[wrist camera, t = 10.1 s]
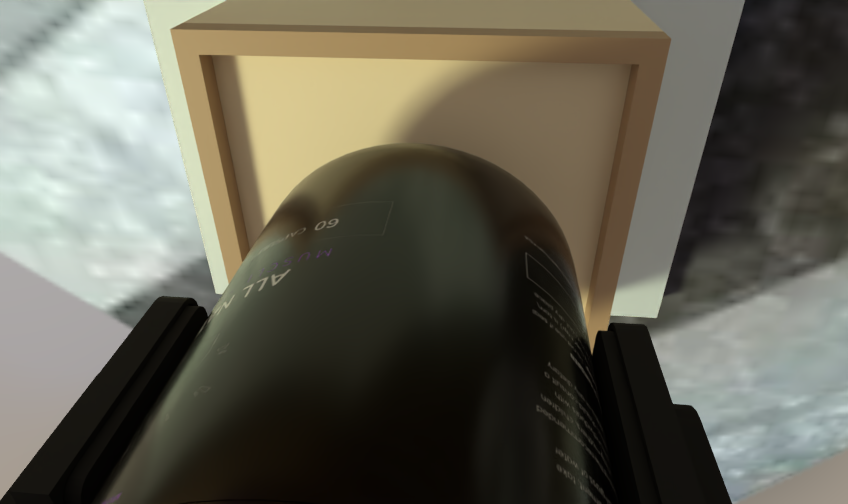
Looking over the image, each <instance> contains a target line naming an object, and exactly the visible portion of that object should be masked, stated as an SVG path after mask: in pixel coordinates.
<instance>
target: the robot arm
mask: <svg viewBox="0 0 848 504" xmlns="http://www.w3.org/2000/svg"><path fill="white" fill-rule="evenodd" d="M207 318H208V316H207V312H206V310H205V308H204V307H201V306H198V304H197V302H196V301H195V300H194V299H193V298H184V297H167V296H162V297H159V298H158V299H157V300H155V302H154V303H153V304H152V305H151V307H150V308H149V309H148V311H147V312H146V313H145V315H144V316H143V317H142V318H141V320H140V321H139V322H138V324H137V325H136V326H135V327H134V329H133V330H132V331H131V333H130V334H129V335H128V337H127V338H126V339H125V341H124V342H123V343H122V345H121V346H120V347H119V348H118V350H117V351H116V352H115V353H114V355H113V356H112V357H111V359H110V360H109V361H108V363H107V364H106V365H105V366H104V368H103V369H102V370H101V372H100V373H99V374H98V375H97V376H96V377H95V379H94V380H93V381H92V382H91V384H90V385H89V386H88V388H87V389H86V390H85V392H84V393H83V394H82V396H81V397H80V398H79V399H78V401H77V402H76V403H75V404H74V406H73V407H72V408H71V410H70V411H69V412H68V413H67V415H66V416H65V417H64V419H63V420H62V421H61V423H60V424H59V425H58V426H57V428H56V429H55V430H54V432H53V433H52V434H51V436H50V437H49V438H48V439H47V441H46V442H45V443H44V445H43V446H42V447H41V449H40V450H39V451H38V452H37V454H36V455H35V456H34V458H33V459H32V460H31V462H30V463H29V464H28V465H27V467H26V468H25V469H24V471H23V472H22V473H21V474H20V476H19V477H18V478H17V480H16V481H15V482H14V483H13V485H12V486H11V487H10V489H9V490H8V491H7V492H6V494H5V495H4V496H3V498H2V499H1V500H0V504H91V503H92V501H93V500H94V498H95V496H96V495H97V493H98V492H99V490H100V488H101V487H102V485H103V484H104V482H105V481H106V479H107V477H108V476H109V474H110V473H111V471H112V469H113V468H114V466H115V465H116V463H117V461H118V460H119V458H120V457H121V455H122V453H123V452H124V450H125V449H126V447H127V445H128V444H129V442H130V441H131V439H132V438H133V436H134V434H135V433H136V431H137V430H138V428H139V426H140V425H141V423H142V422H143V420H144V418H145V417H146V415H147V414H148V412H149V410H150V409H151V407H152V406H153V404H154V402H155V401H156V399H157V398H158V396H159V395H160V393H161V391H162V390H163V388H164V387H165V385H166V383H167V382H168V380H169V379H170V377H171V375H172V374H173V372H174V371H175V369H176V367H177V366H178V364H179V363H180V361H181V360H182V358H183V356H184V355H185V353H186V352H187V350H188V348H189V347H190V345H191V344H192V342H193V340H194V339H195V337H196V336H197V334H198V332H199V331H200V329H201V328H202V326H203V324H204V323H205V321H206V320H207ZM592 359H593V364H594V369H595V375H596V380H597V386H598V391H599V397H600V402H601V408H602V413H603V418H604V424H605V429H606V435H607V440H608V446H609V451H610V457H611V462H612V467H613V473H614V478H615V484H616V489H617V495H618V500H619V504H732V502H731V500H730V497H729V494H728V492H727V489H726V486H725V484H724V481H723V478H722V476H721V473H720V470H719V468H718V465H717V462H716V460H715V457H714V454H713V452H712V449H711V446H710V444H709V441H708V438H707V436H706V433H705V430H704V428H703V425H702V422H701V420H700V417H699V415H698V413H697V411H696V410H695V409H694V408H693V407H692V406H690V405H680V404H673V403H672V400H671V397H670V394H669V391H668V388H667V385H666V382H665V379H664V376H663V373H662V370H661V367H660V364H659V361H658V358H657V355H656V352H655V349H654V346H653V343H652V340H651V337H650V334H649V331H648V329H647V327H646V326H645V325H643V324H626V323H610V325H609V327H608V330H607V331H602V330H599V331H598V332H597V334H596V338H595V343H594V348H593V353H592Z"/></svg>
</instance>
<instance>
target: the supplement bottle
mask: <svg viewBox="0 0 848 504" xmlns="http://www.w3.org/2000/svg"><path fill="white" fill-rule="evenodd" d="M91 504H619V500H618V495H617V489H616V484H615V478H614V473H613V467H612V462H611V457H610V451H609V446H608V440H607V435H606V429H605V424H604V418H603V413H602V408H601V402H600V397H599V391H598V386H597V380H596V375H595V369H594V364H593V359H592V353H591V348H590V342H589V337H588V331H587V326H586V320H585V315H584V310H583V304H582V299H581V293H580V288H579V285H578V280H577V275H576V270H575V265H574V261H573V258H572V255H571V251H570V248H569V245H568V243H567V240H566V238H565V236H564V233H563V231H562V229H561V227H560V226H559V224H558V222H557V220H556V219H555V217H554V216H553V215H552V213H551V212H550V210H549V209H548V208H547V206H546V205H545V204H544V203H543V202H542V201H541V200H540V199H539V198H538V196H537V195H536V194H535V193H534V192H533V191H532V190H531V189H529V188H528V187H527V186H526V185H525V184H524V183H523V182H521V181H520V180H519V179H517V178H516V177H514V176H513V175H512V174H510V173H509V172H507V171H505V170H504V169H502V168H500V167H499V166H497V165H495V164H493V163H491V162H489V161H487V160H485V159H482V158H480V157H478V156H475V155H472V154H469V153H467V152H464V151H460V150H456V149H452V148H448V147H444V146H437V145H431V144H419V143H394V144H386V145H378V146H373V147H368V148H364V149H360V150H357V151H354V152H351V153H348V154H345V155H343V156H341V157H339V158H336V159H334V160H332V161H330V162H328V163H326V164H325V165H323V166H321V167H319V168H318V169H316V170H315V171H313V172H312V173H311V174H309V175H308V176H307V177H305V178H304V179H303V180H302V181H301V182H300V183H299V184H298V185H297V186H295V187H294V189H293V190H292V191H291V192H290V193H289V194H288V196H287V197H286V198H285V199H284V200H283V201H282V203H281V204H280V206H279V207H278V209H277V210H276V212H275V213H274V215H273V216H272V218H271V219H270V221H269V222H268V223H267V225H266V226H265V228H264V229H263V231H262V232H261V234H260V235H259V237H258V239H257V240H256V242H255V243H254V245H253V246H252V248H251V250H250V251H249V253H248V254H247V256H246V258H245V259H244V261H243V262H242V264H241V266H240V267H239V269H238V270H237V272H236V274H235V275H234V277H233V278H232V280H231V282H230V283H229V285H228V286H227V288H226V289H225V291H224V293H223V294H222V296H221V297H220V299H219V301H218V302H217V304H216V305H215V307H214V309H213V310H212V312H211V313H210V315H209V317H208V318H207V320H206V321H205V323H204V324H203V326H202V328H201V329H200V331H199V332H198V334H197V336H196V337H195V339H194V340H193V342H192V344H191V345H190V347H189V348H188V350H187V352H186V353H185V355H184V356H183V358H182V360H181V361H180V363H179V364H178V366H177V367H176V369H175V371H174V372H173V374H172V375H171V377H170V379H169V380H168V382H167V383H166V385H165V387H164V388H163V390H162V391H161V393H160V395H159V396H158V398H157V399H156V401H155V402H154V404H153V406H152V407H151V409H150V410H149V412H148V414H147V415H146V417H145V418H144V420H143V422H142V423H141V425H140V426H139V428H138V430H137V431H136V433H135V434H134V436H133V438H132V439H131V441H130V442H129V444H128V445H127V447H126V449H125V450H124V452H123V453H122V455H121V457H120V458H119V460H118V461H117V463H116V465H115V466H114V468H113V469H112V471H111V473H110V474H109V476H108V477H107V479H106V481H105V482H104V484H103V485H102V487H101V488H100V490H99V492H98V493H97V495H96V496H95V498H94V500H93V501H92V503H91Z"/></svg>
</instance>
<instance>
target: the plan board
mask: <svg viewBox="0 0 848 504" xmlns="http://www.w3.org/2000/svg"><path fill="white" fill-rule="evenodd" d="M143 1H144V5H145V9H146V13H147V17H148V21H149V25H150V29H151V33H152V37H153V41H154V45H155V49H156V53H157V57H158V61H159V65H160V69H161V73H162V77H163V81H164V85H165V89H166V94H167V98H168V102H169V106H170V110H171V114H172V118H173V122H174V126H175V130H176V134H177V138H178V142H179V146H180V150H181V154H182V158H183V162H184V166H185V170H186V174H187V178H188V182H189V186H190V190H191V194H192V198H193V202H194V207H195V211H196V215H197V219H198V223H199V227H200V231H201V235H202V239H203V243H204V247H205V251H206V255H207V259H208V263H209V267H210V271H211V275H212V279H213V283H214V287H215V291H216V294H223V293H224V291H225V289H226V288H227V286H228V285H229V283H230V282H231V280H232V278H233V277H234V275H235V274H236V272H237V270H238V269H239V267H240V266H241V264H242V262H243V261H244V259H245V258H246V256H247V254H248V253H249V251H250V250H251V248H252V246H253V245H254V243H255V242H256V240H257V239H258V237H259V235H260V234H261V232H262V231H263V229H264V228H265V226H266V225H267V223H268V222H269V221H270V219H271V218H272V216H273V215H274V213H275V212H276V210H277V209H278V207H279V206H280V204H281V203H282V201H283V200H284V199H285V198H286V197H287V196H288V194H289V193H290V192H291V191H292V190H293V189H294V187H295V186H297V185H298V184H299V183H300V182H301V181H302V180H303V179H304V178H305V177H307V176H308V175H309V174H311V173H312V172H313V171H315V170H316V169H318V168H319V167H321V166H323V165H325V164H326V163H328V162H330V161H332V160H334V159H336V158H339V157H341V156H343V155H345V154H348V153H351V152H354V151H357V150H360V149H364V148H368V147H373V146H378V145H386V144H394V143H419V144H431V145H437V146H444V147H448V148H452V149H456V150H460V151H464V152H467V153H469V154H472V155H475V156H478V157H480V158H482V159H485V160H487V161H489V162H491V163H493V164H495V165H497V166H499V167H500V168H502V169H504V170H505V171H507V172H509V173H510V174H512V175H513V176H514V177H516V178H517V179H519V180H520V181H521V182H523V183H524V184H525V185H526V186H527V187H528V188H529V189H531V190H532V191H533V192H534V193H535V194H536V195H537V196H538V198H539V199H540V200H541V201H542V202H543V203H544V204H545V205H546V206H547V208H548V209H549V210H550V212H551V213H552V215H553V216H554V217H555V219H556V220H557V222H558V224H559V226H560V227H561V229H562V231H563V233H564V236H565V238H566V240H567V243H568V245H569V248H570V251H571V255H572V258H573V261H574V265H575V270H576V275H577V280H578V285H579V288H580V293H581V299H582V304H583V310H584V315H585V320H586V326H587V331H588V337H589V342H590V348H591V353H593V348H594V343H595V338H596V334H597V332H598V331H599V330H602V331H607V328H608V323H609V319H610V315H615V316H633V317H651V318H657V315H658V312H659V308H660V304H661V301H662V297H663V294H664V290H665V286H666V283H667V279H668V276H669V272H670V268H671V265H672V261H673V258H674V254H675V250H676V247H677V243H678V240H679V236H680V232H681V229H682V225H683V222H684V218H685V214H686V211H687V207H688V204H689V200H690V196H691V193H692V189H693V186H694V182H695V178H696V175H697V171H698V168H699V164H700V161H701V157H702V153H703V150H704V146H705V143H706V139H707V135H708V132H709V128H710V125H711V121H712V117H713V114H714V110H715V107H716V103H717V99H718V96H719V92H720V89H721V85H722V81H723V78H724V74H725V71H726V67H727V63H728V60H729V56H730V53H731V49H732V45H733V42H734V38H735V35H736V31H737V27H738V24H739V20H740V17H741V13H742V10H743V6H744V2H745V0H143Z"/></svg>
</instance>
